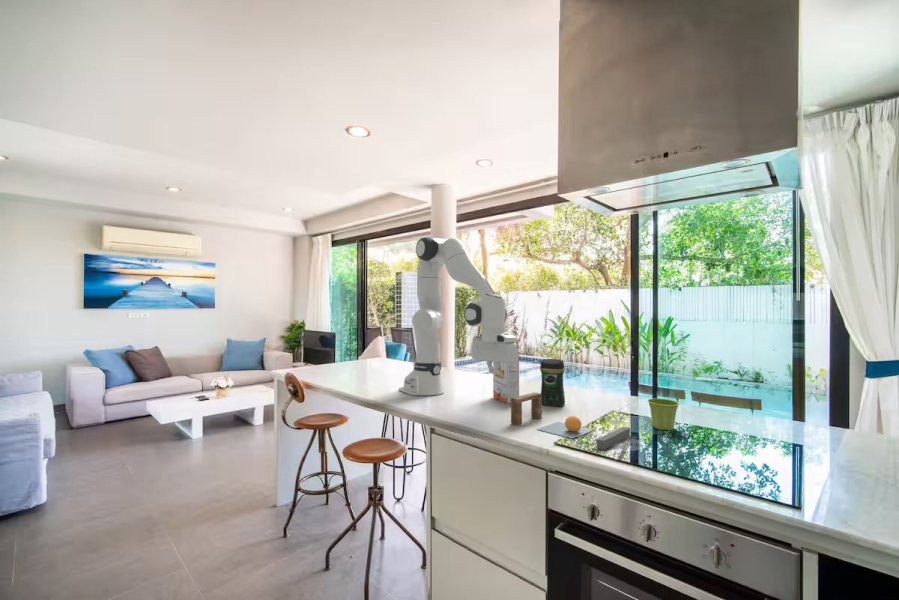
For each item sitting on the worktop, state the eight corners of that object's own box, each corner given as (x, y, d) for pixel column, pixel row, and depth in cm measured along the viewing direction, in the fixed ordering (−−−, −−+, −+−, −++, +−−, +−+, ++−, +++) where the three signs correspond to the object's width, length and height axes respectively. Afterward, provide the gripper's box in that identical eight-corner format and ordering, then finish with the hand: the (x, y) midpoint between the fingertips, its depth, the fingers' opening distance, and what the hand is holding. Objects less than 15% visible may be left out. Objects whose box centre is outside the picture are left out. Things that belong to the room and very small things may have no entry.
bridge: (511, 423, 140) (511, 398, 140) (534, 416, 149) (534, 392, 150) (518, 425, 138) (518, 399, 138) (541, 417, 147) (541, 393, 147)
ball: (561, 416, 131) (575, 418, 128) (569, 413, 135) (583, 415, 131) (562, 432, 131) (577, 434, 127) (570, 429, 134) (584, 431, 131)
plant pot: (684, 428, 135) (684, 402, 135) (671, 434, 129) (671, 406, 129) (655, 422, 142) (655, 397, 143) (642, 427, 137) (642, 401, 137)
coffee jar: (566, 403, 169) (566, 358, 170) (562, 408, 162) (562, 360, 163) (543, 401, 174) (543, 357, 174) (538, 405, 167) (538, 359, 167)
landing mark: (536, 429, 133) (536, 429, 133) (558, 422, 142) (558, 421, 142) (573, 439, 124) (573, 438, 124) (593, 430, 133) (593, 429, 133)
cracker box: (492, 397, 181) (492, 349, 181) (504, 396, 183) (504, 349, 183) (506, 404, 168) (506, 353, 168) (519, 403, 170) (519, 352, 170)
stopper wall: (596, 448, 116) (596, 439, 116) (623, 434, 128) (623, 426, 128) (603, 449, 114) (603, 440, 114) (630, 436, 127) (630, 427, 127)
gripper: (467, 335, 160) (467, 370, 160) (509, 338, 145) (509, 377, 145) (478, 334, 164) (478, 369, 164) (520, 337, 150) (520, 375, 149)
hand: (493, 373), depth 154 cm, fingers closed
